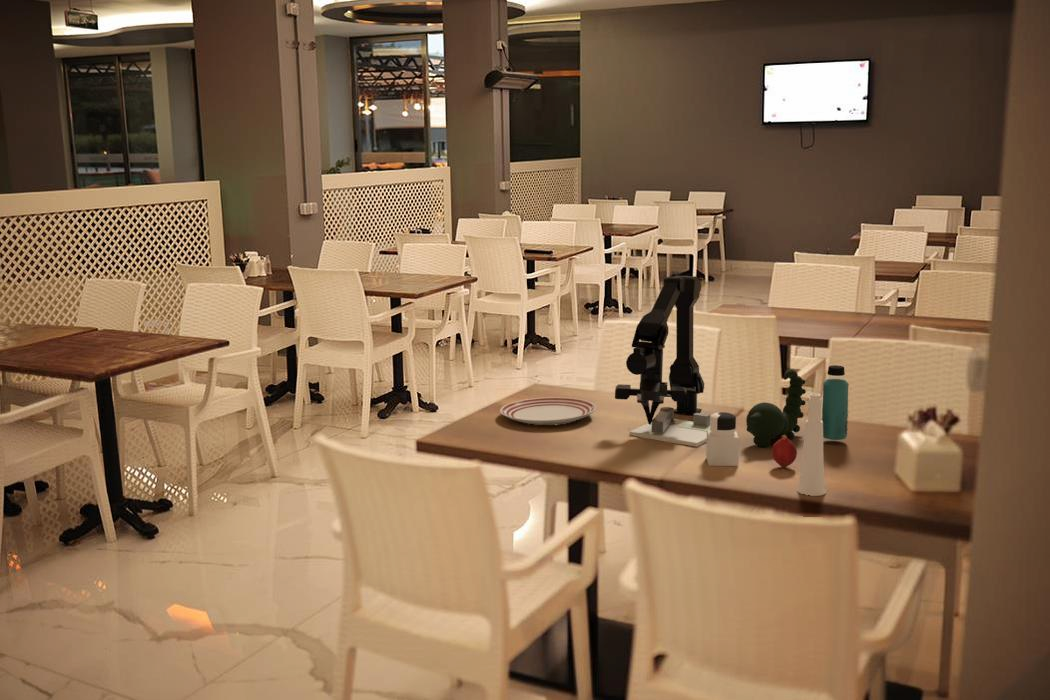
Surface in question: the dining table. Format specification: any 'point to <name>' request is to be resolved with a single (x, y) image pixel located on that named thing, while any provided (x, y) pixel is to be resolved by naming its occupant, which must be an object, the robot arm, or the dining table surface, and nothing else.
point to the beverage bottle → (835, 405)
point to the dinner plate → (548, 410)
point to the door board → (679, 431)
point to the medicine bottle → (722, 440)
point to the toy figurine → (777, 414)
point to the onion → (784, 452)
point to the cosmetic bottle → (813, 451)
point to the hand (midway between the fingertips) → (649, 424)
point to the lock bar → (662, 419)
